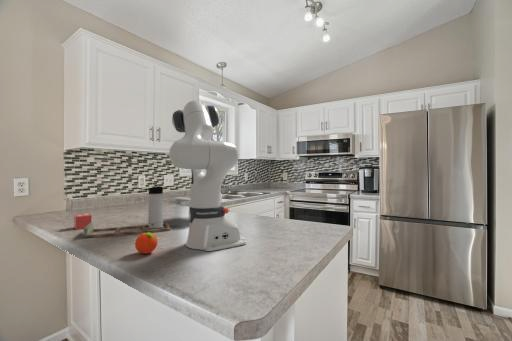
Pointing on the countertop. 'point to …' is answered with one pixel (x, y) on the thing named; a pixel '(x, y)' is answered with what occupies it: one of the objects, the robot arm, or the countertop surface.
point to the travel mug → (156, 208)
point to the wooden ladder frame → (90, 229)
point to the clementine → (146, 242)
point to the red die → (81, 221)
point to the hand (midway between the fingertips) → (175, 203)
